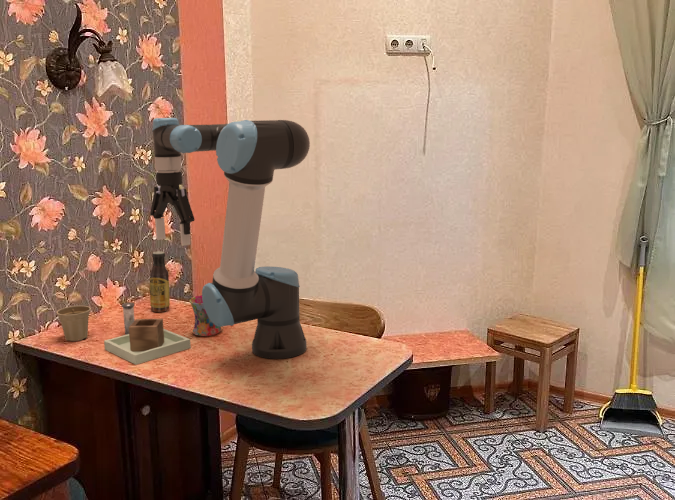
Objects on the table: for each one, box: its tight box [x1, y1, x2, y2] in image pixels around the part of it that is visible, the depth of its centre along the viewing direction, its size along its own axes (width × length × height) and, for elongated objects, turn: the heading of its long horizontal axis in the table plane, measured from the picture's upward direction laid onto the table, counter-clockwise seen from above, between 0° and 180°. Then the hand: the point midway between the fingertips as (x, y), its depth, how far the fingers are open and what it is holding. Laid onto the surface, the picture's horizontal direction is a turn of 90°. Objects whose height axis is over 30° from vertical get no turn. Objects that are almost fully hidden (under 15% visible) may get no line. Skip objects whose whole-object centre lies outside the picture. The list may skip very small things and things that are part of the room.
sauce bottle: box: [149, 250, 171, 313], centre depth 221 cm, size 6×6×20 cm
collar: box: [129, 318, 165, 352], centre depth 185 cm, size 8×8×7 cm
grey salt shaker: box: [121, 301, 136, 335], centre depth 199 cm, size 4×4×9 cm
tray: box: [103, 328, 192, 366], centre depth 186 cm, size 17×17×3 cm
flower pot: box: [56, 305, 92, 342], centre depth 195 cm, size 9×9×9 cm
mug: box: [188, 294, 222, 337], centre depth 199 cm, size 12×9×11 cm
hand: (173, 242), depth 199 cm, fingers open, 13 cm apart
